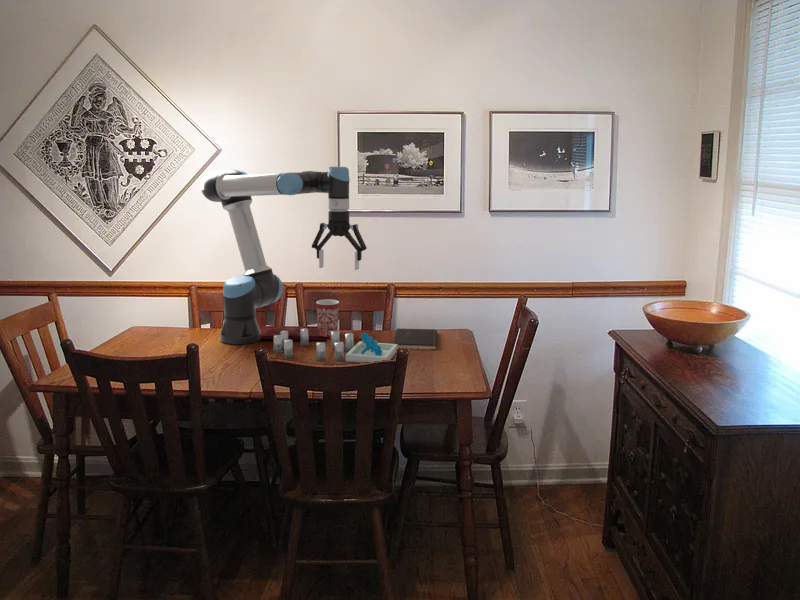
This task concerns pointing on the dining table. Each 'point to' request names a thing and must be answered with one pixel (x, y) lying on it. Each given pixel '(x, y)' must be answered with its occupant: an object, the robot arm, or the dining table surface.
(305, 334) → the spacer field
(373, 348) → the blue plastic irregular piece
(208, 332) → the dining table surface
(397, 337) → the hardcover book
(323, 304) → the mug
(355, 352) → the parts tray
